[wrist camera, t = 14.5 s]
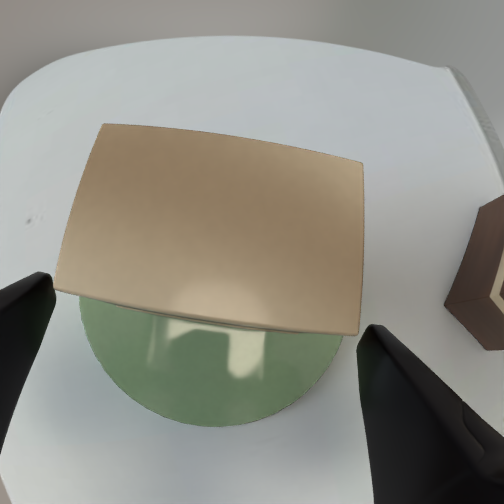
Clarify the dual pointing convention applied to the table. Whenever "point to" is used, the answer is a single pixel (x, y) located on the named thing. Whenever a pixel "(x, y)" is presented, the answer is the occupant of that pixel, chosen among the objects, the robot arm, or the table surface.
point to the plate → (204, 364)
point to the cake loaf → (482, 279)
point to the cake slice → (218, 231)
